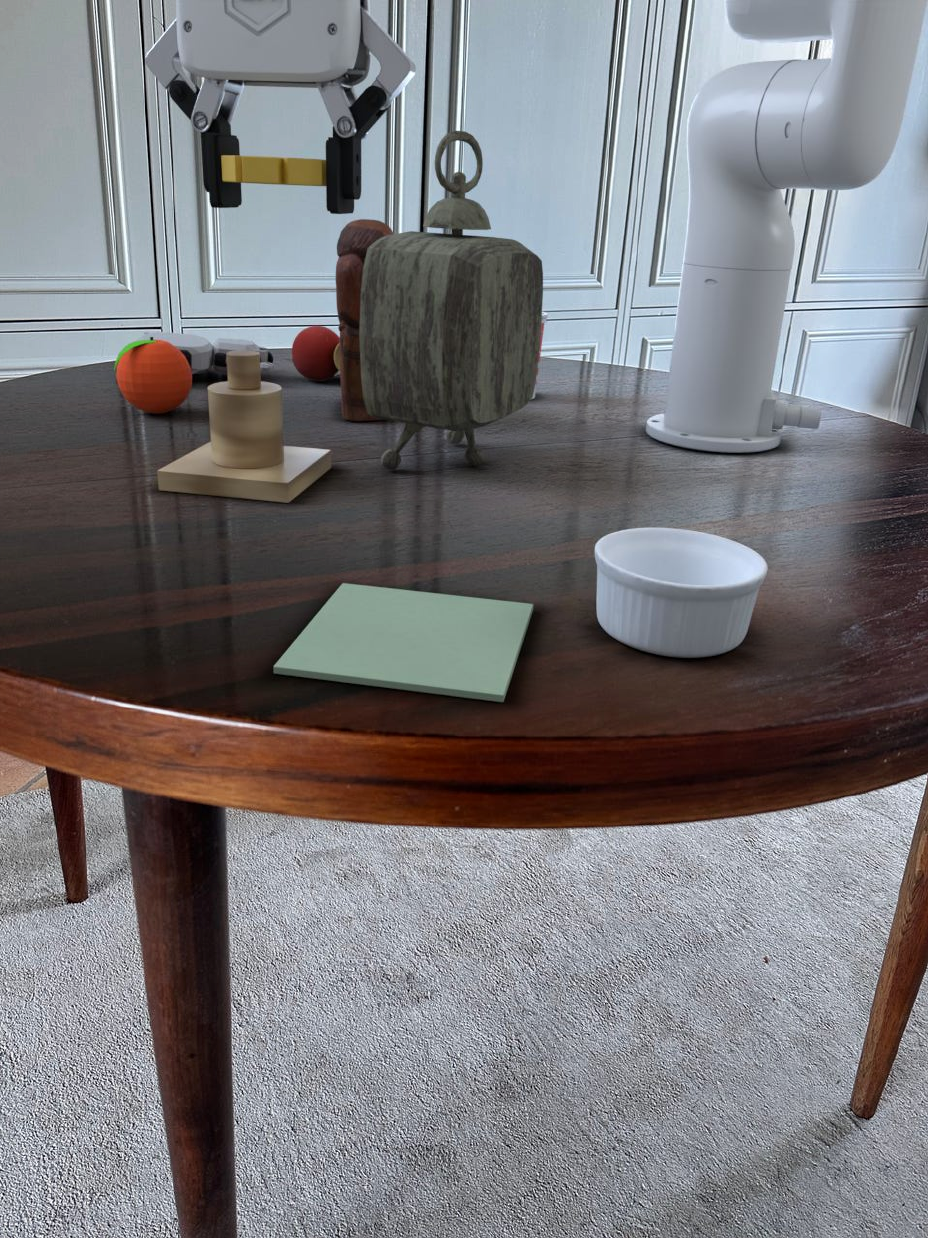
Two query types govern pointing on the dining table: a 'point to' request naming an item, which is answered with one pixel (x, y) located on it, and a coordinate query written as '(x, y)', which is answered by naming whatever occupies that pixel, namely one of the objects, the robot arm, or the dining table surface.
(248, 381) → the stand
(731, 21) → the robot arm
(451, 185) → the tabletop clock
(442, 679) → the mat
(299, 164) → the ring
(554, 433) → the dining table surface
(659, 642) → the ramekin
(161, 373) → the clementine
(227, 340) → the robot toy
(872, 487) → the dining table surface
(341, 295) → the wooden figurine
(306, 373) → the kendama
